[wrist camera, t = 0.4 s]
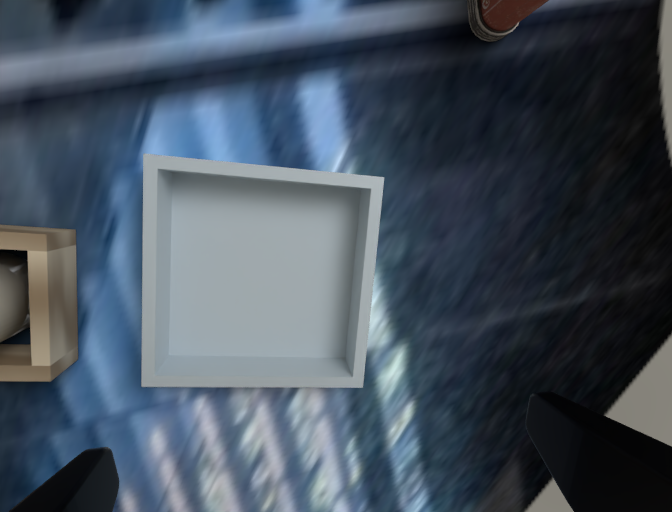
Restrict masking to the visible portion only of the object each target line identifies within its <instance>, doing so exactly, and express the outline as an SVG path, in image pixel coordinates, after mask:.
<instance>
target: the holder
mask: <svg viewBox="0 0 672 512" xmlns="http://www.w3.org/2000/svg"><path fill="white" fill-rule="evenodd" d="M0 249H8V250H26V251H28V278H29V305H30V332H31V345H23V344H0V381H52V380H53V379H54V378H56V377H57V376H58V375H59V374H61V373H62V372H63V371H64V370H65V369H67V368H68V367H69V366H70V365H72V364H73V363H74V362H75V361H77V360H78V326H77V270H76V230H73V229H57V228H42V227H27V226H12V225H0Z"/></svg>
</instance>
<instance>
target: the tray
mask: <svg viewBox="0 0 672 512" xmlns="http://www.w3.org/2000/svg"><path fill="white" fill-rule="evenodd" d="M383 184H384V177H375V176H365V175H354V174H344V173H334V172H324V171H314V170H304V169H294V168H284V167H274V166H263V165H253V164H243V163H233V162H223V161H213V160H203V159H193V158H182V157H172V156H162V155H152V154H143V262H142V378H141V387H306V388H363V380H364V370H365V360H366V351H367V341H368V331H369V321H370V311H371V302H372V292H373V282H374V272H375V262H376V253H377V243H378V233H379V223H380V213H381V204H382V194H383Z"/></svg>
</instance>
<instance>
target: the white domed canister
mask: <svg viewBox="0 0 672 512" xmlns="http://www.w3.org/2000/svg"><path fill="white" fill-rule="evenodd" d="M28 327H30V305H29V278H28V261H27V260H25V259H24V258H22V257H19V256H17V255H14V254H11V253H6V252H0V342H2V341H4V340H6V339H8V338H9V337H11V336H13V335H15V334H17V333H19V332H21V331H23V330H25V329H27V328H28Z"/></svg>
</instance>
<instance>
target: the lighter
mask: <svg viewBox="0 0 672 512" xmlns="http://www.w3.org/2000/svg"><path fill="white" fill-rule="evenodd" d="M547 1H548V0H467V6H468V16H469V23H470V27H471V30H472V31H473V32H474V34H475V35H476V36H477V37H479V38H480V39H482V40H485V41H497V40H499V39H501V38H503V37H505V36H506V35H508V34H509V33H510V32H512V31H513V30H514V29H515V28H516V27H517V26H518V24H519V22H520V21H521V20H522V19H524V18H525V17H527V16H528V15H529V14H531V13H532V12H533V11H535V10H536V9H537V8H539V7H540V6H542V5H543V4H544V3H546V2H547Z"/></svg>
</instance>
